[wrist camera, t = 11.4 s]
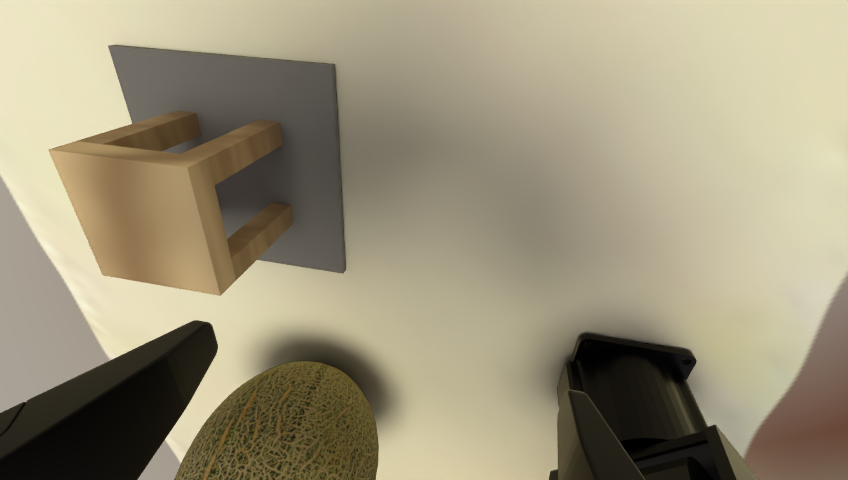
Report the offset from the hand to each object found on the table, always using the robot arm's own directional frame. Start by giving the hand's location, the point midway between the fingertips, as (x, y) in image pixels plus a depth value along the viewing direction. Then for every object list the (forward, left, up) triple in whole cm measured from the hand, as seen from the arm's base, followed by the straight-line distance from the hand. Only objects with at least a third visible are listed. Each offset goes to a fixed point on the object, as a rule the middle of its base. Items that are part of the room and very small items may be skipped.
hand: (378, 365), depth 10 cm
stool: (+12, +1, -13) cm, 17 cm away
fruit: (+8, +18, -13) cm, 24 cm away
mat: (+12, +1, -13) cm, 18 cm away
